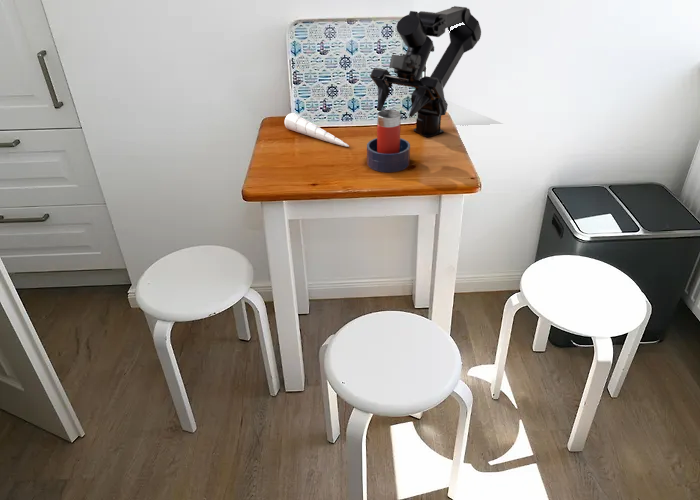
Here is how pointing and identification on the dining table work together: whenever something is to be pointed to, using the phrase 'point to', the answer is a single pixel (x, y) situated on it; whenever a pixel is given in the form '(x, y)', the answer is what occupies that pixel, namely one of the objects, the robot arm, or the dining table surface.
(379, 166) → the pot
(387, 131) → the tin
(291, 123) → the unicorn horn
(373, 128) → the dining table surface
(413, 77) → the robot arm
